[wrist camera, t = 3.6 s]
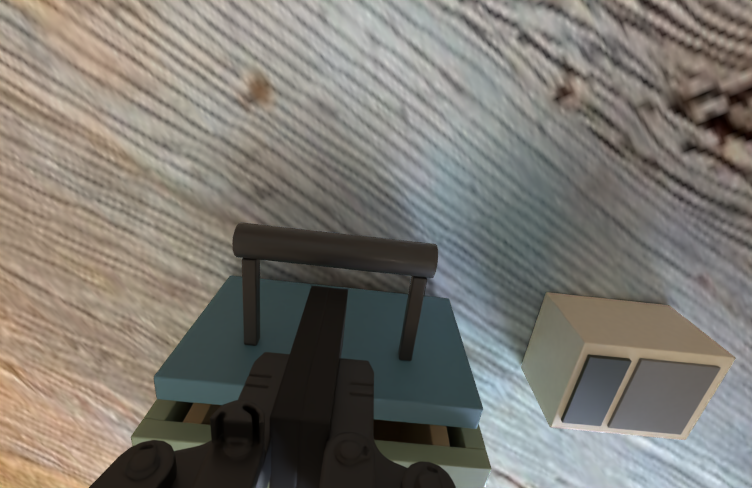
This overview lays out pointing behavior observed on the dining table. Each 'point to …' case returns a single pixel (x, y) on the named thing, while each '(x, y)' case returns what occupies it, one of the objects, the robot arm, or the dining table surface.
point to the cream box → (621, 366)
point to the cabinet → (458, 460)
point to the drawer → (361, 333)
